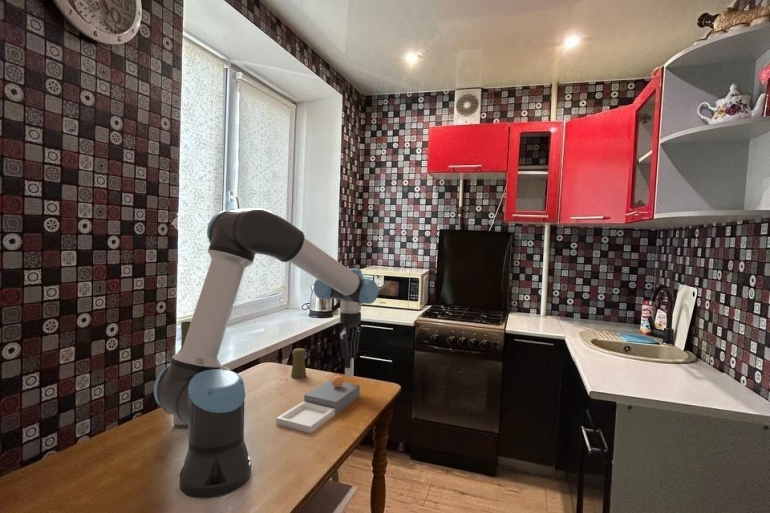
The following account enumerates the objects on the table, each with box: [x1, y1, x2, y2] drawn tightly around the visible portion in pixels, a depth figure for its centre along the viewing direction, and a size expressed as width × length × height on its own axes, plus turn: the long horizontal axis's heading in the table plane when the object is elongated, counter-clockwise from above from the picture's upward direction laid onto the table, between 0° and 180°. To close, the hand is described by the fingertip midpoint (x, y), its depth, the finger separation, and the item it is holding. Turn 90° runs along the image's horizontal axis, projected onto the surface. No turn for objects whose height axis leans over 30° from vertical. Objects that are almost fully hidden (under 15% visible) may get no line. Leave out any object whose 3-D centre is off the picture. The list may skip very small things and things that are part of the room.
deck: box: [303, 379, 361, 415], centre depth 136 cm, size 16×12×4 cm
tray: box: [275, 400, 336, 434], centre depth 122 cm, size 14×12×2 cm
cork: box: [290, 347, 307, 380], centre depth 160 cm, size 6×6×11 cm
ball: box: [331, 374, 344, 387], centre depth 139 cm, size 4×4×4 cm
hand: (349, 375), depth 146 cm, fingers closed
